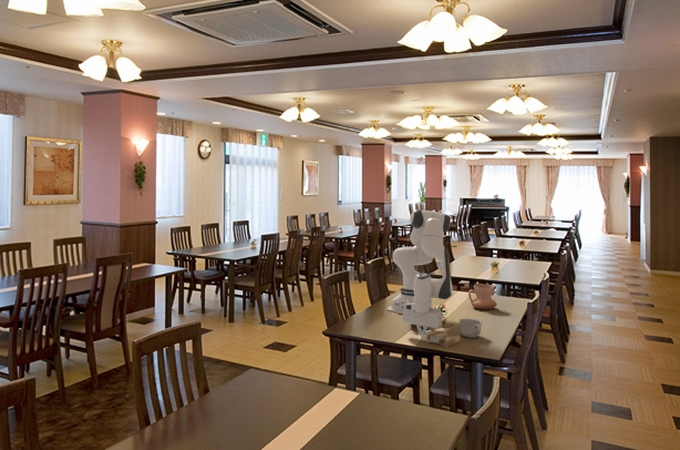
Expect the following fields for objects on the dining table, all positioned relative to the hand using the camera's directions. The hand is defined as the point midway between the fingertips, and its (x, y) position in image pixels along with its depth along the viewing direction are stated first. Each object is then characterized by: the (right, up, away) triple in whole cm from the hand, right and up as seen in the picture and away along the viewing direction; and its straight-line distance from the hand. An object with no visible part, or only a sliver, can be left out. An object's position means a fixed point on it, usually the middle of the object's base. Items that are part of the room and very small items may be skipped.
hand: (422, 334), depth 254 cm
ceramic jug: (+47, +2, +62) cm, 78 cm away
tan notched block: (+8, -2, -5) cm, 10 cm away
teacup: (+25, -2, +1) cm, 25 cm away
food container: (+2, -1, +16) cm, 16 cm away
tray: (+7, -2, -5) cm, 9 cm away
